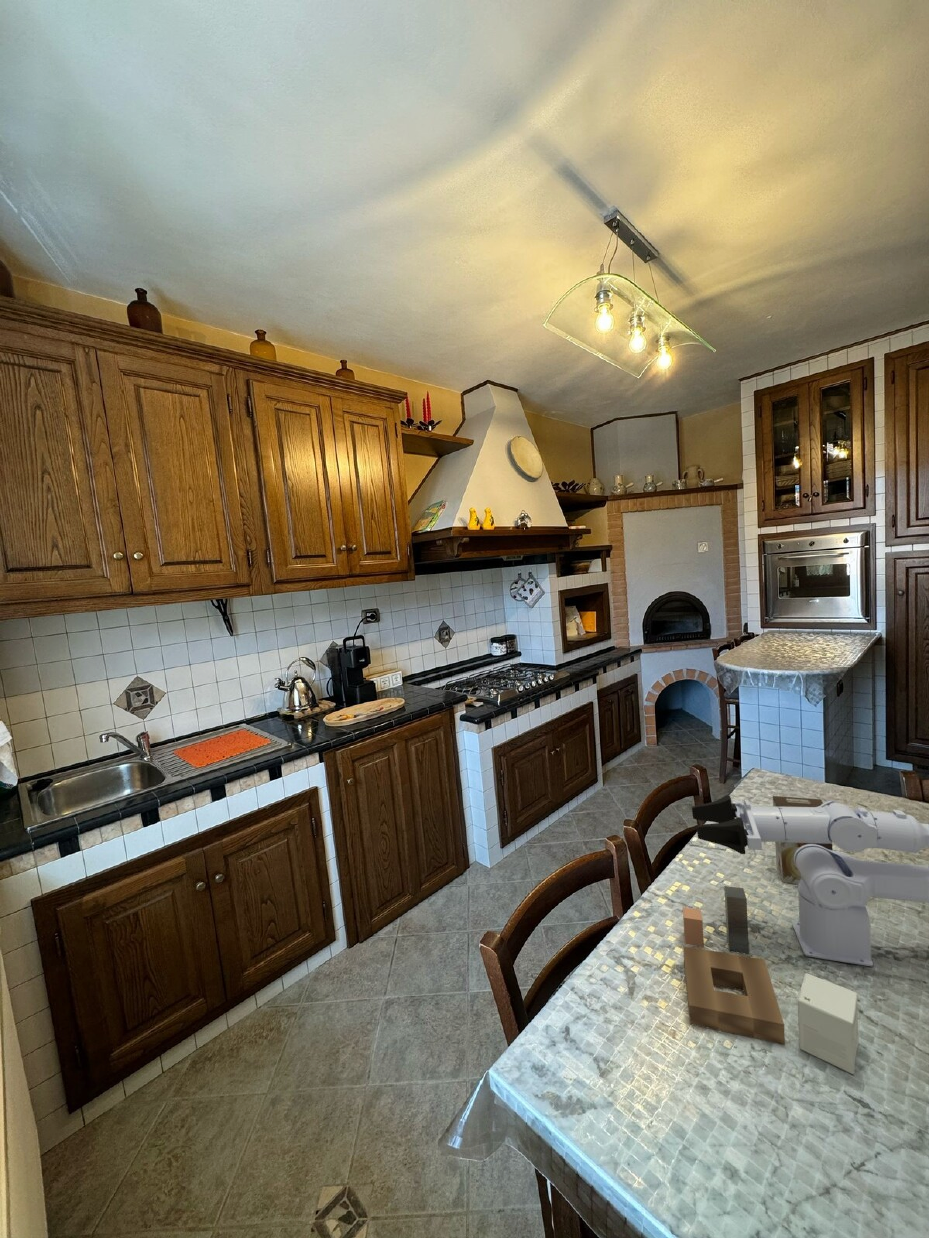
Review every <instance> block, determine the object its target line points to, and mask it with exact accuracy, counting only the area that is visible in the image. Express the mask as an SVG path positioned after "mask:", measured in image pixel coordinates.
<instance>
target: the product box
mask: <svg viewBox="0 0 929 1238" xmlns="http://www.w3.org/2000/svg"><path fill="white" fill-rule="evenodd" d="M797 1015H798V1016H797V1017H798V1042H799V1043H798V1046H799V1049H800V1050H802V1051H804V1052H806V1053H807V1054H810V1055H812V1056H814V1057H816V1058H818V1059H820V1060H823V1061H824V1062H827V1063H829V1064H830V1065H833V1066H835V1067H837V1068H838V1069H841V1070H842V1071H844V1072H847V1073H848V1074H851V1075H854V1074H855V1064H856V1057H857V1053H858V1052H857V1051H858V1047H859V1039H860V1038H859V1018H858V1015H859V1014H858V993H857V992H855V991H853V990H850V989H848V988H846V987H843V986H841V985H838V984H835V983H833V982H831V981H828V980H825V979H822V978H820V977H817V976H815V975H812V974H809V973H807V972H806V973H804V977H803V980H802V983H801V987H800V992H799V993H798V998H797Z"/></svg>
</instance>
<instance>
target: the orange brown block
mask: <svg viewBox="0 0 929 1238" xmlns="http://www.w3.org/2000/svg"><path fill="white" fill-rule="evenodd" d="M682 917H683V919H682V921H683V934H684V944H685V945H688V946H694V947H698V948H700V947H701V948H705V942H704V926H703V925H704V923H703V915H702V909H700V908H695V907H687V906H682Z"/></svg>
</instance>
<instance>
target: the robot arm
mask: <svg viewBox="0 0 929 1238" xmlns="http://www.w3.org/2000/svg"><path fill="white" fill-rule="evenodd" d="M691 812H692V813H691V814H692V819H694V820H698V821H704V822H710V823H704V824H698V825H696V833H697V834H696V835H697V839H699V840H702V841H704V842H709V843H713V844H717V845H720V846H722V847H727V848H728V849H731V850H732V851H735V852H737V853H738V854H740V855H746V847H747V848H748V850H749V851H751V850H752V851H755V850H756V851H762V850H763V845H762V842H765V843H766V842H768V843H771V842H772V843H775V842H794V843H823V844H832V845H833V844H834V845H835V846H836V847H838V848H839V849H840V850H843V851H846V852H851V853H852V854H853V853H854V854H856V853H861V852H864V851H865V850H868V849H882V850H889V851H896V852H904V853H914V854H915V853H919V852H921V851H922V850H923V849H924V848H925V847H927V848H929V823H922V822H920V821H918V820H917V819H916V818H915V817H914V816H912V815H911V814H906V813H905V812H904V811H903V810H899V809H892V811H891V812H886V811H878V810H877V811H875V810H867V809H866V808H865V807H857V809H856V808H855V809H852V808H851V807H850V806H848V805H846V804H843V803H839V802H836V800H829V801H828V800H827V801H825V802H823V804H822V805H820V806H818V807H773V806H761V805H760V806H759V805H757V806H755V805H751V802H750V801H749V799H744V800H732V798H731V796H730V795H729V794H727V795H724V796H723V797H720V798H719V799H717V800H716V799H715V800H714V801H712V802H708V803H707V802H706V803H702V804H698V805H694V806H691ZM711 822H712V823H711ZM829 838H830V839H831V840H830V839H829ZM843 851H837V850H833V851H832V850H829V849H826V848H824V847H822V846H820V845H816V844H807V845H804V846H801V847H800V848H799V849H797V851H796V852H795V854H794V863H795V866H796V867H797V869H798V870H799V871H800V873H801V876H802V877H801V880H800V882H799V884H797V890H798V891H797V894H798V896H797V897H798V915H799V916H798V919H799V922H797V921H794V922H791V925H792V928H793V929H794V933H795V935H796V937H797V940H798V943H799V945H800V947H801V950H802V953H803V954H804V955H805V956H806V957H811V958H817V959H823V960H830V961H834V962H835V961H836V962H840V963H841V962H842V963H846V964H854V965H861V966H867V967H873V966H874V962H873V961H872V938H871V937H872V936H871V935H872V934H871V933H872V932H871V922H870V921H871V920H870V916H869V913H868V909H867V907H866V906H867V905H868V903H869V901H870V900H871V898H877V899H878V898H879V899H889V900H895V901H896V900H897V901H907V902H914V903H916V902H917V903H924V904H925V903H927V904H929V865H922V864H921V865H920V864H912V863H911V864H909V863H908V864H907V863H897V862H887V861H886V862H885V861H873V860H862V859H858V858H856V857H854V856H852V855H850V854H848V853H846V852H843Z"/></svg>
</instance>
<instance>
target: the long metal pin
mask: <svg viewBox="0 0 929 1238" xmlns="http://www.w3.org/2000/svg"><path fill="white" fill-rule="evenodd" d="M723 888H724V891H723V892H724V909H725V910H724V911H725V930H726V931H725V932H726V942H727V947H728V951H729V952H731V951H733V952H732V953H737V952H739V953H738V954H743V953H745V954H744V955H750V950H749V949H750V947H749V943H750V942H749V925H748V923H749V921H748V919H749V918H748V902H747V900H748V899H747V896H746V893H745V889H744V888H743V887H736V886H729V885H728V886H727V885H724V886H723Z"/></svg>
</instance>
